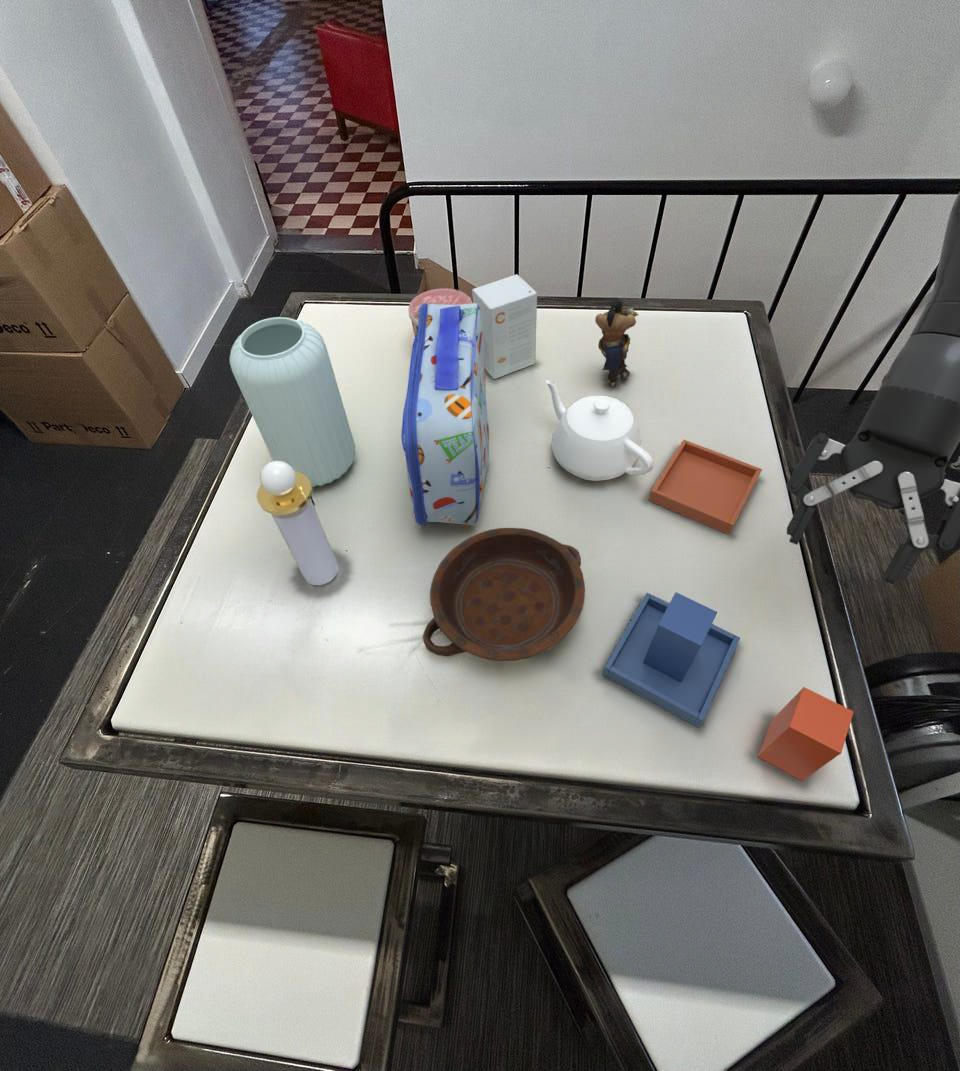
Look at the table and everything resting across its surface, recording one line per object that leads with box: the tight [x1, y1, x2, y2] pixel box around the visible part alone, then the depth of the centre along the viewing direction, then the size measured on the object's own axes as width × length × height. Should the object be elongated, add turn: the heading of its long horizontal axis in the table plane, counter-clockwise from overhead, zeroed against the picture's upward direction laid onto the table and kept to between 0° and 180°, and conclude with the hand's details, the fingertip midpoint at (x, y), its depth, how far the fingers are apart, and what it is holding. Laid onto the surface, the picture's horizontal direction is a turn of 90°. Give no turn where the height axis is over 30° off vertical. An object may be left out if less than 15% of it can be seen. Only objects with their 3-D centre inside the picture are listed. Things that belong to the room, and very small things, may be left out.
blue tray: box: [602, 592, 741, 728], centre depth 68 cm, size 11×11×2 cm
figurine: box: [594, 298, 639, 388], centre depth 92 cm, size 7×6×15 cm
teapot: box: [545, 379, 655, 482], centre depth 84 cm, size 20×12×10 cm, turn 39°
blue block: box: [643, 591, 718, 682], centre depth 65 cm, size 4×4×9 cm
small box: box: [471, 273, 538, 380], centre depth 97 cm, size 8×6×13 cm
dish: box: [422, 527, 586, 662], centre depth 72 cm, size 18×22×5 cm
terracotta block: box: [757, 686, 855, 782], centre depth 59 cm, size 4×4×9 cm
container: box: [407, 288, 473, 337], centre depth 102 cm, size 10×10×8 cm
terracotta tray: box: [648, 439, 763, 535], centre depth 83 cm, size 11×11×2 cm
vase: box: [229, 316, 356, 488], centre depth 81 cm, size 12×12×22 cm
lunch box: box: [401, 302, 490, 527], centre depth 80 cm, size 28×10×22 cm, turn 0°
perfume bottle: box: [256, 460, 339, 586], centre depth 70 cm, size 6×6×20 cm
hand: (839, 562), depth 58 cm, fingers open, 8 cm apart
